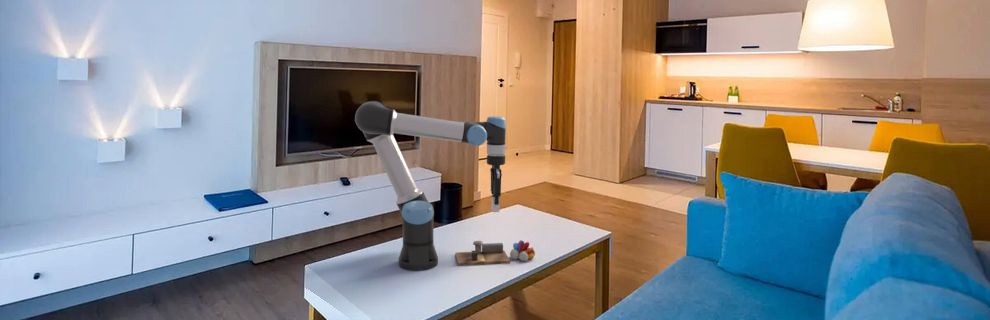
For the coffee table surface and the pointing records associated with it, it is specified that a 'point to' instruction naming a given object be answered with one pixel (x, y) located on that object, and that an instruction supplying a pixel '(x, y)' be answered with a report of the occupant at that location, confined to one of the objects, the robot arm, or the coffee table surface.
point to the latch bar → (492, 247)
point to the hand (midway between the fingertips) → (495, 210)
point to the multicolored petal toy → (522, 251)
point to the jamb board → (481, 256)
